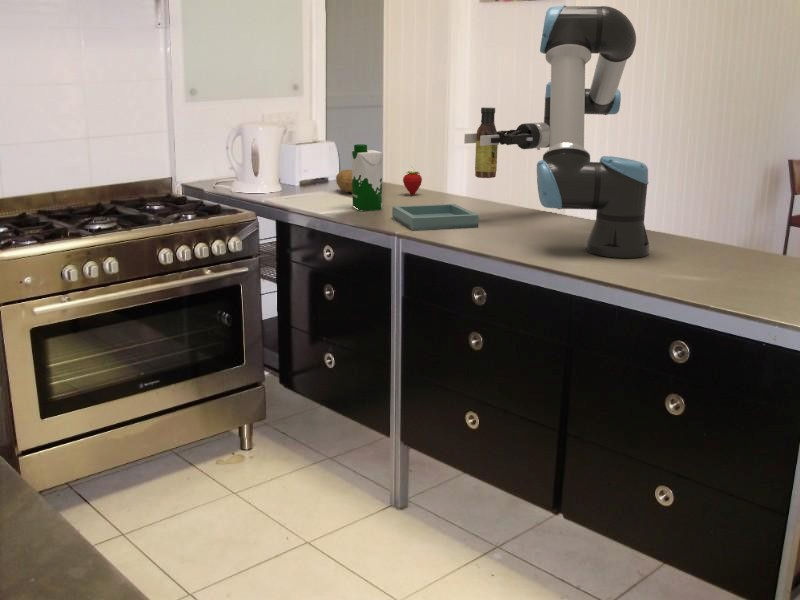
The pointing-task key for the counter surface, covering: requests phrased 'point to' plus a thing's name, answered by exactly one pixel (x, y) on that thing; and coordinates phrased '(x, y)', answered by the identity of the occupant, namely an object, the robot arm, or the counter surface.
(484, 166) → the sauce bottle
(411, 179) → the strawberry
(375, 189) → the milk carton
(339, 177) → the potato
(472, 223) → the tray
